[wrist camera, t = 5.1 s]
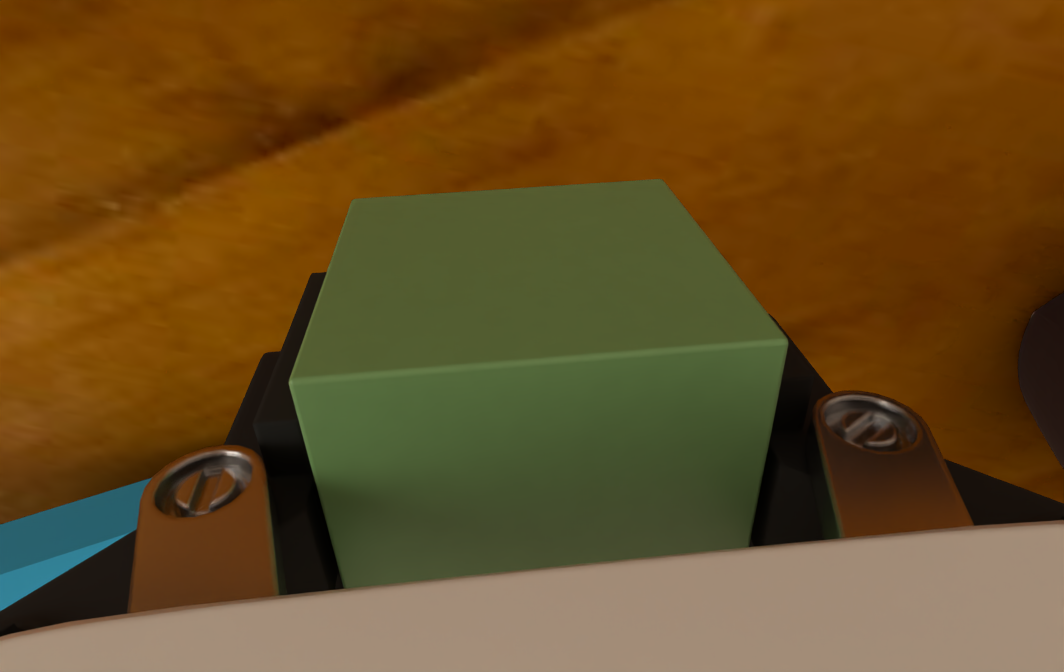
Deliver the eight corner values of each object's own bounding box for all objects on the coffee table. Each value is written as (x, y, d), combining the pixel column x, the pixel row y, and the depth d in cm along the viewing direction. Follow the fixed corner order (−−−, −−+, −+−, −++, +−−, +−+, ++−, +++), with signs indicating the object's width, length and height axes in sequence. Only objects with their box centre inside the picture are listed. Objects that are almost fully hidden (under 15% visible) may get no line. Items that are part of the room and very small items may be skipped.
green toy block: (351, 197, 11) (285, 380, 7) (662, 177, 11) (791, 339, 7) (395, 441, 13) (368, 684, 9) (646, 419, 14) (732, 644, 10)
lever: (338, 352, 28) (-198, 504, 23) (366, 455, 22) (-339, 685, 17) (377, 479, 31) (-81, 633, 27) (410, 596, 25) (-166, 818, 21)
